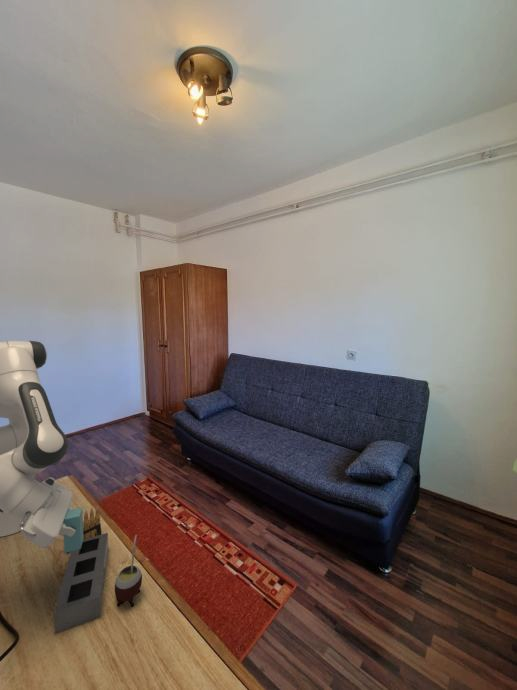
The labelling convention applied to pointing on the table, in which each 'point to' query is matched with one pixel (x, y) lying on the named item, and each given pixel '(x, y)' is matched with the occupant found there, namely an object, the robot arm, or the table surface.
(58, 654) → the table surface
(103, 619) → the table surface
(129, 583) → the mate gourd
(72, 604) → the block with square holes
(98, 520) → the ammunition clip
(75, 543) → the square peg
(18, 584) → the table surface
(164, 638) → the table surface
